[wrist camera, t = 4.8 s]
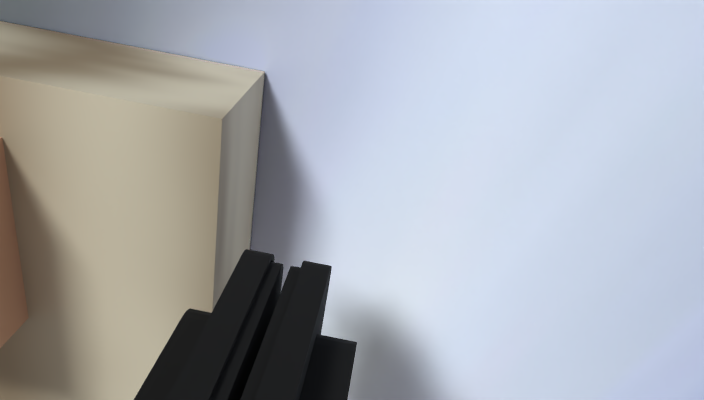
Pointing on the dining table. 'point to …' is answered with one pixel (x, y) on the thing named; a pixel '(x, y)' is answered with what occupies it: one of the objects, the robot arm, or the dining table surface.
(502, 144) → the dining table surface
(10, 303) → the terracotta tile
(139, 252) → the birch platform
